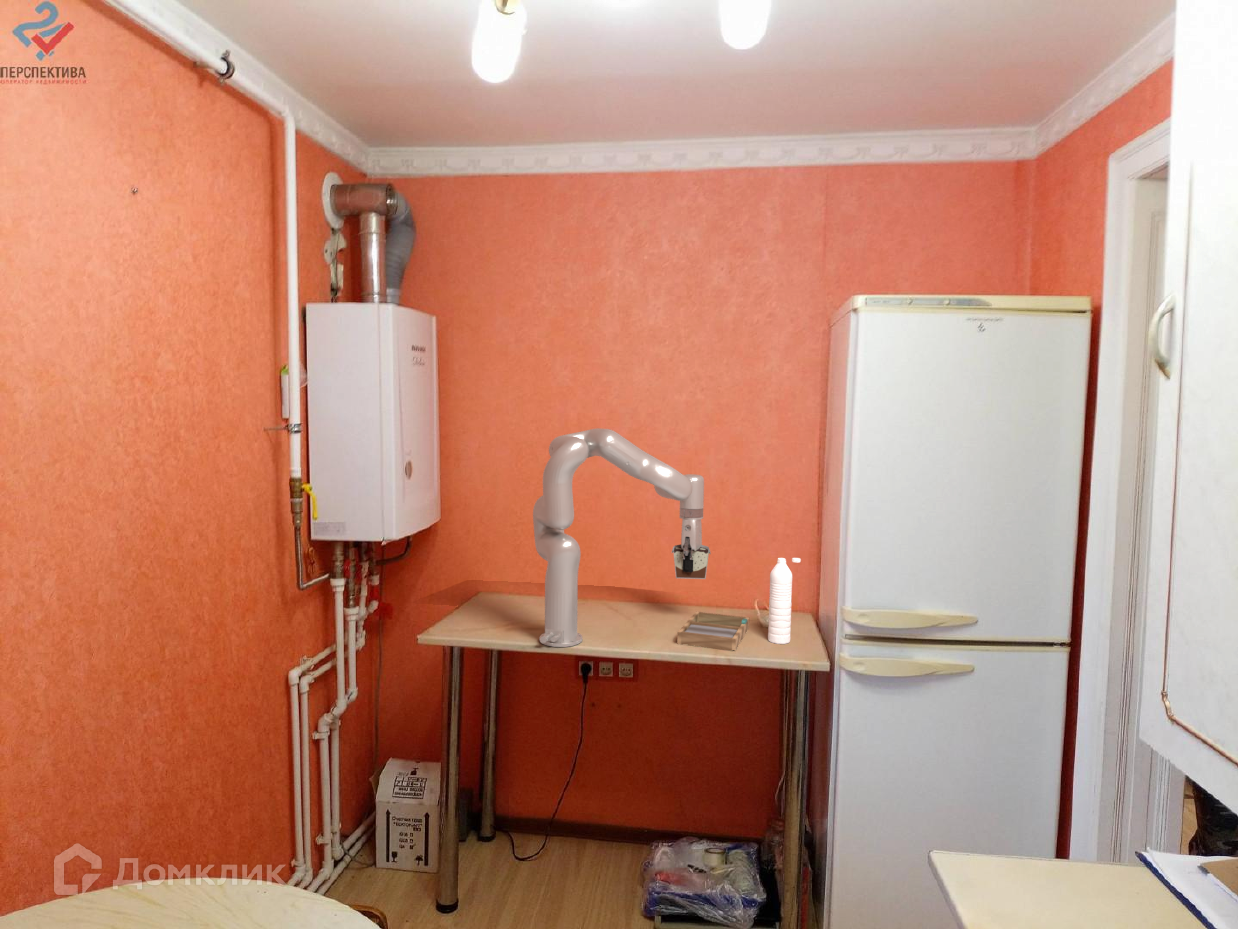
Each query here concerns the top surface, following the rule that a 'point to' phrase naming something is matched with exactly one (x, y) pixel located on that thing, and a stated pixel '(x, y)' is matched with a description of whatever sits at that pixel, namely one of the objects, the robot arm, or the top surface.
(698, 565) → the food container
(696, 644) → the compartment tray
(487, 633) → the top surface
